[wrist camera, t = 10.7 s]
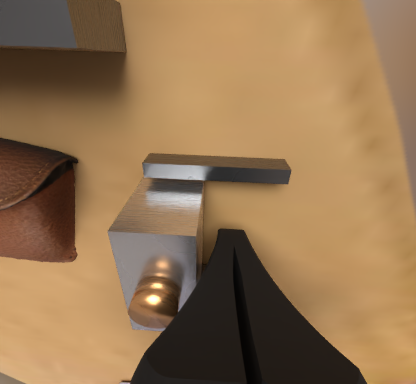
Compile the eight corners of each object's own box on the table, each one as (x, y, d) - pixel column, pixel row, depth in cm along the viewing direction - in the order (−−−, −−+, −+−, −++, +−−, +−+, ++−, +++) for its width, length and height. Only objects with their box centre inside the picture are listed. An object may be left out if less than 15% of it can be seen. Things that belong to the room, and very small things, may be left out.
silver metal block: (202, 262, 14) (193, 357, 10) (155, 259, 14) (124, 352, 10) (204, 177, 11) (192, 259, 7) (144, 175, 11) (92, 253, 7)
